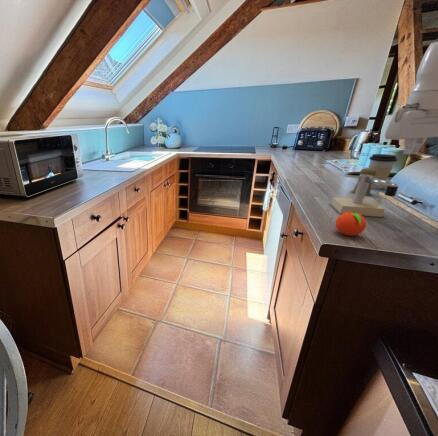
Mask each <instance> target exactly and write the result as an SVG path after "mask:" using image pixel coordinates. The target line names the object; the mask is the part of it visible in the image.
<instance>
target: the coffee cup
mask: <svg viewBox="0 0 438 436" xmlns="http://www.w3.org/2000/svg"><path fill="white" fill-rule="evenodd" d="M369 160H370V161H369V164H368V168H371V169H375V170H376V175H375V176H374V178H377V179H381V180H384V181H387V179H388V178H389V176H390V174H391V172H392V170H393V168H394V165H395V163H396V162H398V159H397V155H393V154H385V153H374V154H372V155H371V156H370V157H369ZM381 189H383V187H381V186H378V185H375V184H372V185H371V190H381Z"/></svg>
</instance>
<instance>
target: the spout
mask: <svg viewBox="0 0 438 436" xmlns="http://www.w3.org/2000/svg"><path fill="white" fill-rule="evenodd" d="M358 181H361V182H369V183H372V184H375V185H378V186H381V187H382V188H384V189H385V192H384V196H386V197H395V196H396V194H397V192H398V190H399V186H398V184H397V183H394V182H392V181H391V182H390V181H388V180H386V181H384V180H381V179H377V178H374V177H373V176H372V175H367V174H360V173H359V175H358V179H357V182H358Z"/></svg>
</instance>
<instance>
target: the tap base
mask: <svg viewBox="0 0 438 436" xmlns="http://www.w3.org/2000/svg"><path fill="white" fill-rule="evenodd" d="M368 185H369V182H361V181H359V183H358V186H357V189H356V192H355V194H354V195H353V198H348V197H332V200H331V203H330V205H331V207H333V208H334V209H335V210H336V211H337V212H338V213H339V214H340V215H341V214H343V213H347V212H355V213H358V214H360V215H361V216H363V217H364V216H366V217H376V218H382V217H383V214H384V212H385V210H386V209H385V208H384V207H382V206H381V205H379V204H378V203H377V202H375V201H374V200H372V199H366V195H365V194H366V191H367V188H368Z"/></svg>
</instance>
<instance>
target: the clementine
mask: <svg viewBox="0 0 438 436" xmlns="http://www.w3.org/2000/svg"><path fill="white" fill-rule="evenodd" d="M335 228H336V230H337V231H338V232H339V233H341V234H342V235H344V236H350V237H354V236H357V235H360V234H361V233H363V232H364V230H365V229H366V228H367V221H366V219H365V217H364V216H363V215H360V214H358V213H355V212H347V213H343V214H340V215H339V216H337V218H336V219H335Z"/></svg>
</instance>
